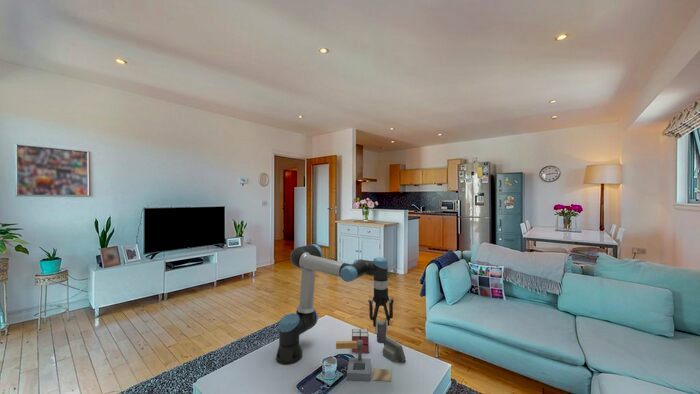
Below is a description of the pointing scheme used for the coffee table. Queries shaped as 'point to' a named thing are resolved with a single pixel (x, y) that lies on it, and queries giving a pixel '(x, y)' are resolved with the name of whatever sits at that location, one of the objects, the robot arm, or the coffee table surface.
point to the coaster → (381, 375)
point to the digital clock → (393, 350)
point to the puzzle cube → (361, 335)
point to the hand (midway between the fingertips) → (381, 331)
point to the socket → (359, 364)
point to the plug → (381, 332)
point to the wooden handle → (349, 344)
